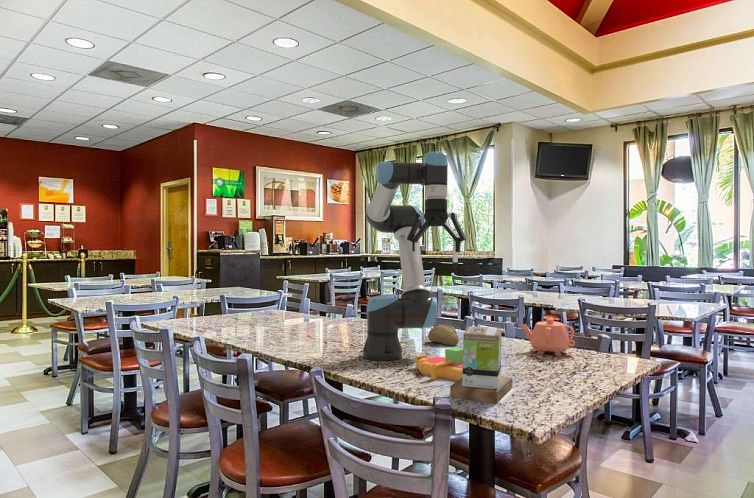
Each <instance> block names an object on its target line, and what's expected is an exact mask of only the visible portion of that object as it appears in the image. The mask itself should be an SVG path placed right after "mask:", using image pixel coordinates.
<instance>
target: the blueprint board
mask: <svg viewBox="0 0 754 498" xmlns="http://www.w3.org/2000/svg"><path fill="white" fill-rule="evenodd" d="M517 390H518V389H517V388H513V387H512V388H511V390H510V391H509V392H508V393H507V394H506V395H505V396H504V397H503V398H502V399H501V400H500V401H499V402H498V403H497V404H501V405H504V404H505V403H506V402H507V400H509V399H510V398H511V396H512V395H513V394H514V393H515V392H516V391H517ZM438 395H439V396H446V397H450V386H449V387H448V388H446V389H445V390H444V391H441V392H440V393H439V394H438Z"/></svg>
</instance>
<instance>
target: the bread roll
mask: <svg viewBox="0 0 754 498" xmlns="http://www.w3.org/2000/svg"><path fill="white" fill-rule="evenodd" d="M427 338H428V340H429V341H430V342H434V343H439V344H442V345H446V346H451V347H453V346H456V345H458V344H459V341H460V340H459V339H460V338H459V335H458V331H457V330H456V329H455V327H454V326H452V325H449V324H447V325H446V324H439V325H437V326H434V327H433V328H432V327H431V329H430V330H429V332H428V335H427Z"/></svg>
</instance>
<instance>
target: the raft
mask: <svg viewBox="0 0 754 498" xmlns="http://www.w3.org/2000/svg"><path fill="white" fill-rule="evenodd" d="M444 353H445V354H444V355H445V356H427V355H426V354H416V355H415V369H416V370H417V371H419V372H420V373H421V374H422V375H423V376H427V375H428V376H430V377H431V378H430V380H432V381H436V380H437V378H438V377H439V378H441V379H447V380H453V381H455V382H456V381H458V380H459V379H461V378H462V372H463V348H458V347H453V346H451V347H449V348H445V350H444Z"/></svg>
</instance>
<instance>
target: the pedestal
mask: <svg viewBox="0 0 754 498" xmlns="http://www.w3.org/2000/svg"><path fill="white" fill-rule="evenodd" d="M449 387H450V396H449V397H450V398H457V399H463V400H471V401H479V402H483V403H491V404H499V403H498V402H499V401H500V400H501V399H502V398H503V397H504V396H505V395H506V394H507V393H508V392H509V391H510V390H511V388H513V377H511V376H510V377H509V376H500V381H499V386H498V388H497V389H487V388H474V387H465V386H462V378H461V379H459V380H458V381H456V380H455V382H453V384H451V385H449Z"/></svg>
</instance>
